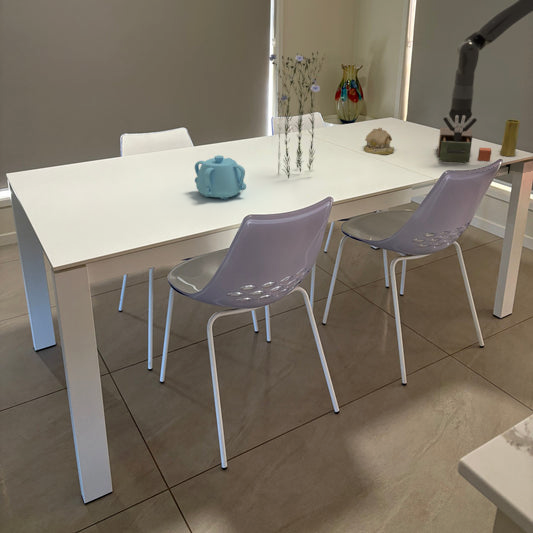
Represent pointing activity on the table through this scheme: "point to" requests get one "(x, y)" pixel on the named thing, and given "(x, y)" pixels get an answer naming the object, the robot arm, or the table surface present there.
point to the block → (484, 154)
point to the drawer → (455, 150)
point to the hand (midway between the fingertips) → (457, 141)
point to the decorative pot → (219, 177)
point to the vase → (510, 138)
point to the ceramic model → (378, 142)
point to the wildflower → (315, 89)
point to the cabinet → (452, 135)
